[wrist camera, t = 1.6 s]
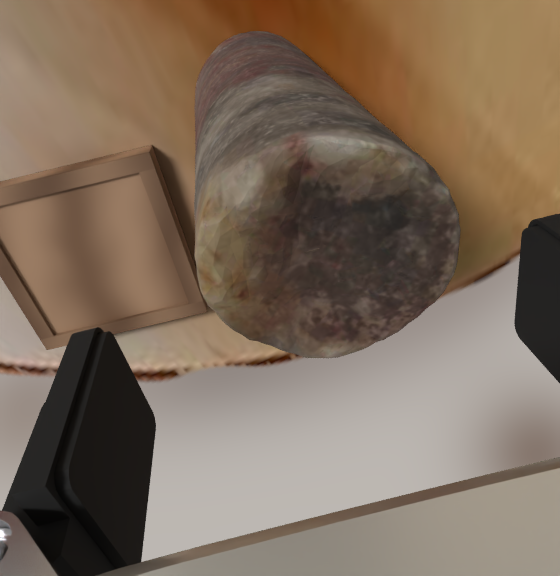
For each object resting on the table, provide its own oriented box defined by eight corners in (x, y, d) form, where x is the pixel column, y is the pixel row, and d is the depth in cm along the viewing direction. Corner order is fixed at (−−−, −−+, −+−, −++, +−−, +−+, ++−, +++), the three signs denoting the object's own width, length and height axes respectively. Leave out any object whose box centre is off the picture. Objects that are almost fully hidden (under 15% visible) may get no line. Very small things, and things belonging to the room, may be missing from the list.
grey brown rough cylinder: (341, 121, 30) (500, 298, 14) (244, 184, 32) (280, 414, 15) (276, 1, 26) (389, 44, 10) (169, 79, 28) (107, 235, 11)
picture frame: (151, 144, 30) (149, 152, 28) (207, 300, 36) (206, 311, 35) (-37, 190, 30) (-48, 200, 29) (52, 337, 36) (46, 350, 35)
